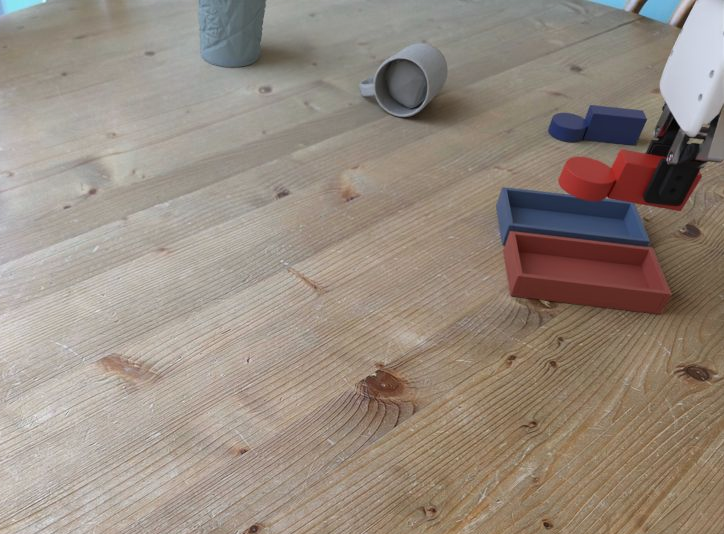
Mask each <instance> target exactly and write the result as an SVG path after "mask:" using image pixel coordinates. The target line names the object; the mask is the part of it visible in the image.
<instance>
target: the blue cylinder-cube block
mask: <svg viewBox="0 0 724 534" xmlns="http://www.w3.org/2000/svg"><path fill="white" fill-rule="evenodd" d="M647 121H648V117H647V115H646V114H645V112H644V110H641V109H632V108H623V107H615V106H605V105H604V106H603V105H595V104H589V107H588V109H587V112H586V114H585V117H583V116H580V115H578V114H575V113H571V112H559V113H558V112H557V113H555V114H554V115H552V118H551V121H550V123H549V126H548V129H547V131H548V134H549V135H550V136H551V137H553V138H555V139H556V140H559V141H562V142H565V143H577V142H581V141H582V140H583V141H591V142H599V143H608V144H610V143H611V144H617V145H618V144H619V145H628V146H636V145H637V143H638V141H639V139H640V137H641V134H642V132H643V130H644V128H645V126H646V123H647Z"/></svg>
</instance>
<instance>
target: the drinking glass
mask: <svg viewBox="0 0 724 534" xmlns="http://www.w3.org/2000/svg"><path fill="white" fill-rule="evenodd" d="M266 2H267V0H197V8H198V10H197V16H198V25H199V26H198V27H199V28H198V30H199V34H198V35H199V51H200V57H201V59H203V60H204V61H205V62H207V63H208V64H211V65H214V66H217V67H224V68H241V67H246V66H250V65H253V64H254V63H256V62H257V61H258V59H259V57H260V55H261V43H262V39H263V29H264V28H263V25H264V18H265V12H266V10H265V9H266V7H267V3H266Z"/></svg>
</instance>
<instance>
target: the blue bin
mask: <svg viewBox="0 0 724 534" xmlns="http://www.w3.org/2000/svg"><path fill="white" fill-rule="evenodd" d="M496 201H497V202H496V204H495V209H496V215H497V220H498V228H499V233H500V239H501V245H502V246H505V244H506V241H507V238H508V235H509V232H510V231H514V232H523V233H532V234H540V235H549V236H557V237H566V238H574V239H583V240H591V241H600V242H609V243H617V244H626V245H634V246H643V247H649V246H650V244H651V239H650V237H649V234H648V232H647V230H646V227H645V224H644V222H643V220H642V217H641V215H640V212H639V210H638V207H637V204H636V203H631V202H626V201H620V200H615V199H609V198H605V199H603V200H601V201H587V200H583V199H580V198H577V197H574V196H572V195H570V194H569V193H559V192H552V191H543V190H542V191H541V190H535V189H533V190H532V189H524V188H514V187H506V186H502V187H501V189H500V192H499V196H498V199H497V200H496Z"/></svg>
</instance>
